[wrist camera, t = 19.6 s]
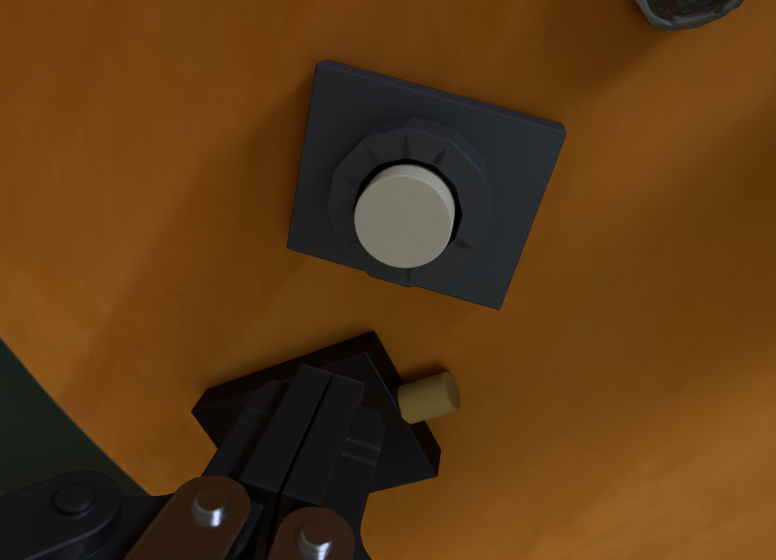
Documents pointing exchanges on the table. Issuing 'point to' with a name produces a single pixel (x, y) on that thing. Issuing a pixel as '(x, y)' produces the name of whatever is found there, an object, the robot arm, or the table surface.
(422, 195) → the button
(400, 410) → the valve block
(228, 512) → the robot arm
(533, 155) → the button housing
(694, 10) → the corroded twin loop
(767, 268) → the table surface
